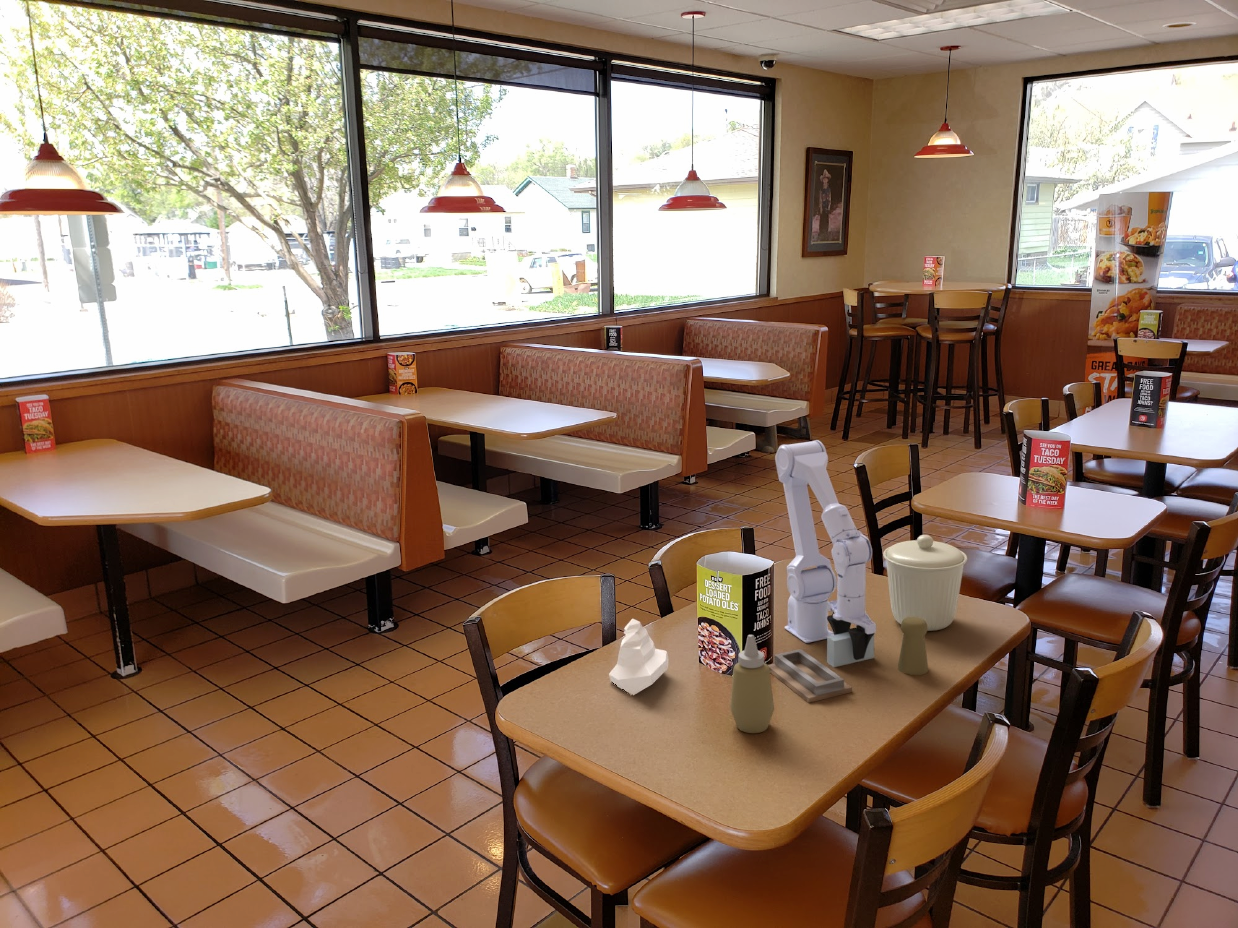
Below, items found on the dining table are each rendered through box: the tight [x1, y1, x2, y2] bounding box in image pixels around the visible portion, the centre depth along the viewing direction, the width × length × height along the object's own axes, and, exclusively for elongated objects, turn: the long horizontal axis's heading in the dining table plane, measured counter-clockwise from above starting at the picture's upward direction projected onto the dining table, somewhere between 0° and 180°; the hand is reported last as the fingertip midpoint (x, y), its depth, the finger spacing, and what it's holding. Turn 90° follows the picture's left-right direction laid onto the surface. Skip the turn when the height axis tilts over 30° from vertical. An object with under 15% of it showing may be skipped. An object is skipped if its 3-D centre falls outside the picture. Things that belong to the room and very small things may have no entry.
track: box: [767, 648, 853, 703], centre depth 186 cm, size 16×10×3 cm, turn 21°
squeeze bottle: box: [729, 634, 775, 734], centre depth 167 cm, size 8×8×18 cm
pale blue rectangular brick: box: [826, 632, 875, 668], centre depth 193 cm, size 10×2×6 cm, turn 111°
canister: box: [882, 534, 968, 632], centre depth 209 cm, size 18×18×21 cm
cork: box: [897, 617, 929, 676], centre depth 188 cm, size 6×6×11 cm
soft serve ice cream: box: [608, 618, 670, 696], centre depth 188 cm, size 12×15×14 cm
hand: (850, 652), depth 194 cm, fingers open, 5 cm apart
